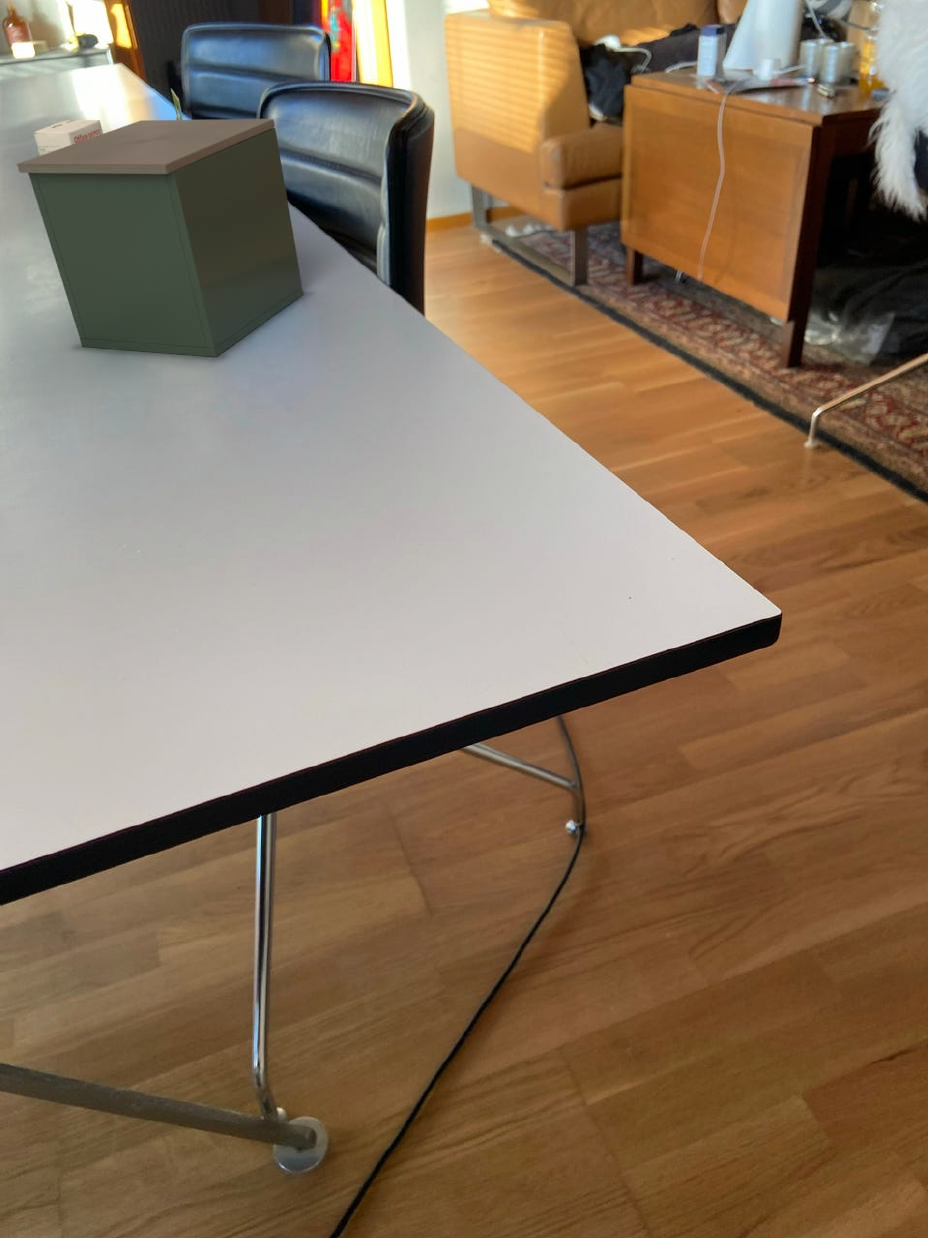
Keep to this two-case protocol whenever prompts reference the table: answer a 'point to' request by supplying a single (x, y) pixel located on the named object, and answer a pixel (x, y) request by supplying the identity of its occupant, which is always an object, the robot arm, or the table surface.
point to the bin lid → (148, 147)
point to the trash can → (174, 250)
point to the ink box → (66, 134)
